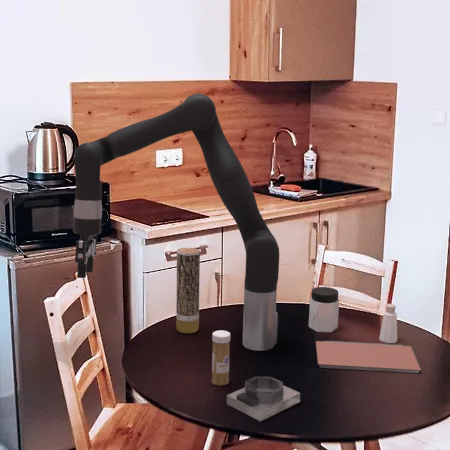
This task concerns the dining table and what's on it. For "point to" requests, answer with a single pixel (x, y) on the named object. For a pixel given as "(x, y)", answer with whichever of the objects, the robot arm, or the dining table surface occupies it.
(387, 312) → the salt shaker
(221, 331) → the sprinkles bottle
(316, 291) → the jar
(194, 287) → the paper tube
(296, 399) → the octagonal ring base plate
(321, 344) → the notebook
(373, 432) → the dining table surface
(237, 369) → the dining table surface
